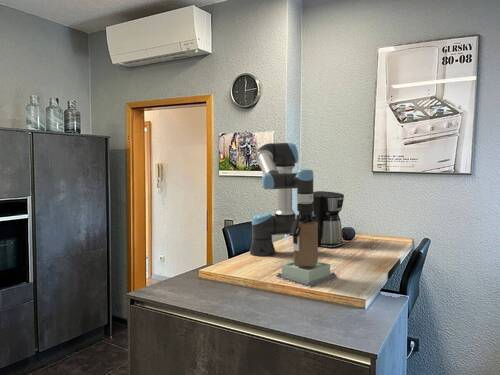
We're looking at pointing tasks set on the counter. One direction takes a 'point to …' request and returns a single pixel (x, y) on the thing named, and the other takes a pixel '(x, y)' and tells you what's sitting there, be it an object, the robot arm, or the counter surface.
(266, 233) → the robot arm
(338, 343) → the counter surface
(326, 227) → the coffee maker
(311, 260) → the block
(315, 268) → the plate
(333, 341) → the counter surface
